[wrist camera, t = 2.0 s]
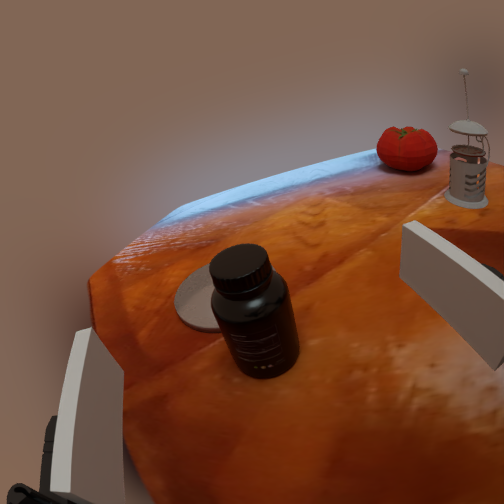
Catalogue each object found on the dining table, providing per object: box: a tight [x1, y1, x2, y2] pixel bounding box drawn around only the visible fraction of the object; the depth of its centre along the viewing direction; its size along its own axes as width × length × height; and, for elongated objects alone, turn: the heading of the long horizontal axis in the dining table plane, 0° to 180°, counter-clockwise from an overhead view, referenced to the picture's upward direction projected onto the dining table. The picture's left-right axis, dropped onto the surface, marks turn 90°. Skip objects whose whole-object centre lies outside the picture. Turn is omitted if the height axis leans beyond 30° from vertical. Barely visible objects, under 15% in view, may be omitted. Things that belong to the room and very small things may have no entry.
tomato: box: [376, 127, 438, 171], centre depth 62 cm, size 14×16×10 cm
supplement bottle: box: [209, 244, 300, 378], centre depth 27 cm, size 7×7×12 cm
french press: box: [444, 69, 490, 209], centre depth 40 cm, size 10×12×25 cm
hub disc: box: [174, 263, 275, 333], centre depth 40 cm, size 14×14×1 cm
